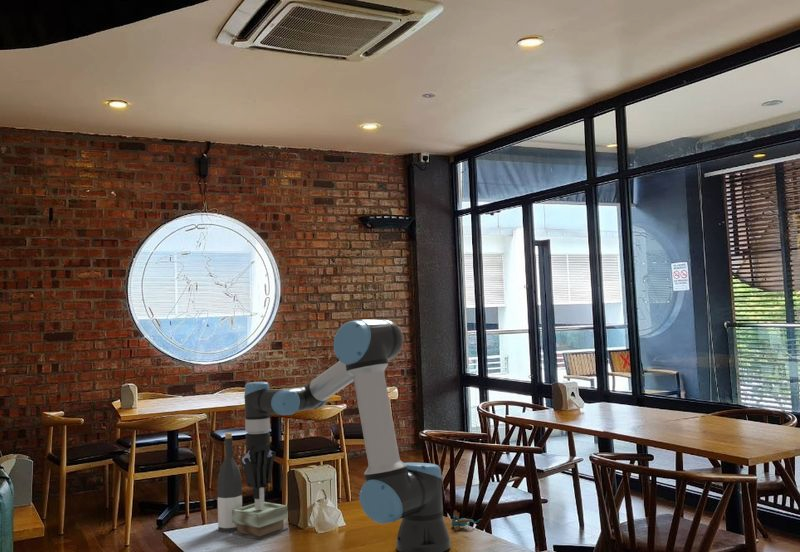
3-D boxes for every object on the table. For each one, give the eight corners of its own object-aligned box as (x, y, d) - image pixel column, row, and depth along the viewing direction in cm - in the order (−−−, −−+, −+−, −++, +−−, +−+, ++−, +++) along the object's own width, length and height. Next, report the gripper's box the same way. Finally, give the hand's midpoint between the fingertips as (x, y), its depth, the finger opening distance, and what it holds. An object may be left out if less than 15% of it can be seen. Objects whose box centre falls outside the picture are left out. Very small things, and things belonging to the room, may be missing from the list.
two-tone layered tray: (288, 529, 229) (287, 505, 230) (259, 539, 219) (258, 514, 220) (261, 524, 236) (260, 501, 237) (232, 534, 226) (231, 509, 227)
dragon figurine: (472, 515, 230) (448, 514, 227) (481, 508, 224) (457, 506, 222) (474, 537, 226) (450, 535, 224) (483, 530, 220) (459, 528, 218)
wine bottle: (213, 533, 229) (210, 435, 231) (223, 525, 237) (221, 431, 238) (237, 533, 227) (235, 435, 229) (247, 526, 235) (245, 431, 237)
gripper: (264, 428, 237) (266, 502, 236) (233, 434, 227) (235, 512, 225) (281, 429, 233) (283, 505, 231) (250, 435, 222) (252, 515, 221)
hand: (259, 508), depth 228 cm, fingers closed
